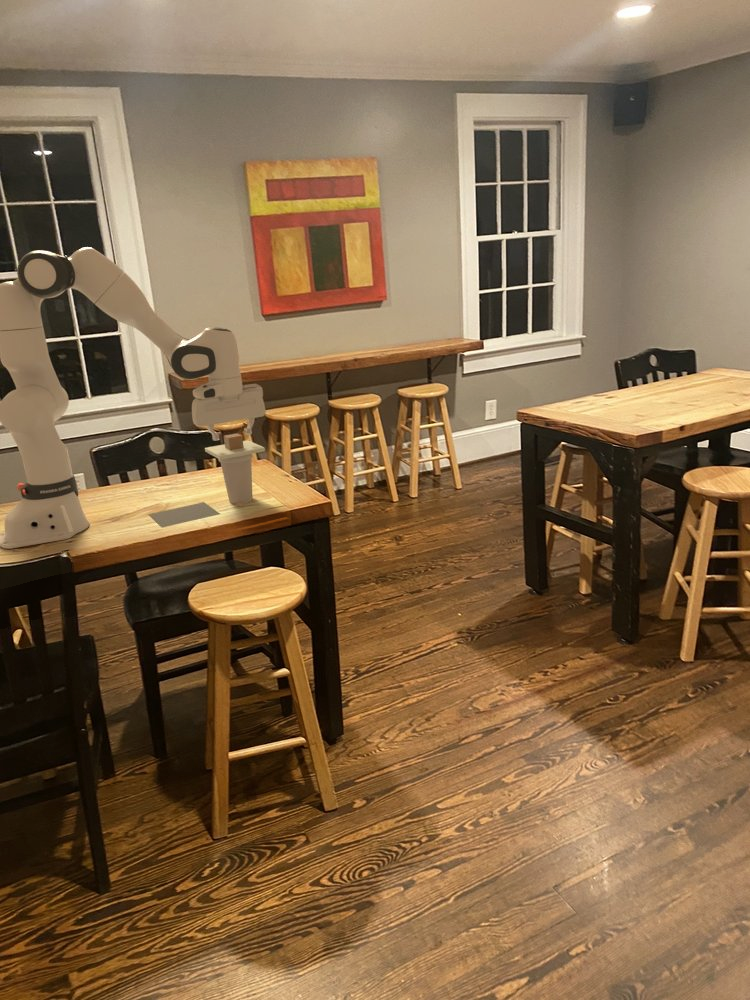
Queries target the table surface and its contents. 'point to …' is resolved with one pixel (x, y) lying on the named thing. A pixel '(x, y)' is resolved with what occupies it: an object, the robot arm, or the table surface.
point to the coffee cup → (238, 478)
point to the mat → (183, 514)
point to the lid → (234, 447)
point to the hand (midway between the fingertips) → (232, 437)
